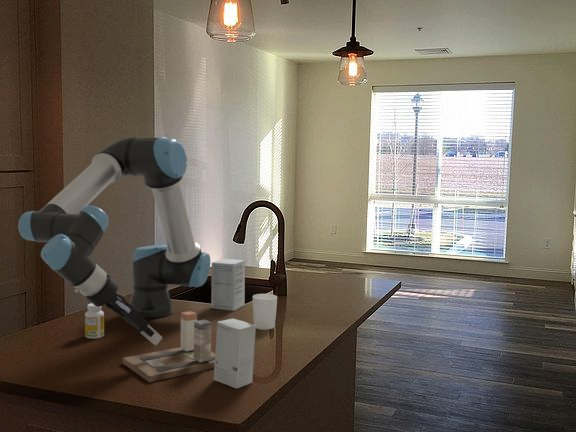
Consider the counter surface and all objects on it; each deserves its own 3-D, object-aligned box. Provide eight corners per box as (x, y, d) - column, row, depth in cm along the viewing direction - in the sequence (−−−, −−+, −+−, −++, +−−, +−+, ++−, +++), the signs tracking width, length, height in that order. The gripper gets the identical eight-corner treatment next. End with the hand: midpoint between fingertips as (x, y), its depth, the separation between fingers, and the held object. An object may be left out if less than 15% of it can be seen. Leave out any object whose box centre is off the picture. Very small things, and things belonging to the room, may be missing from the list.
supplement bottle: (98, 332, 190) (98, 301, 189) (107, 336, 186) (107, 304, 185) (81, 335, 186) (81, 304, 185) (90, 340, 182) (90, 307, 181)
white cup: (273, 331, 196) (274, 300, 195) (249, 329, 197) (249, 298, 196) (278, 324, 204) (279, 294, 203) (255, 322, 205) (256, 293, 204)
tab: (186, 351, 168) (186, 315, 167) (180, 348, 170) (180, 312, 169) (196, 349, 170) (197, 313, 169) (190, 346, 172) (191, 311, 171)
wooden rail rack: (149, 382, 150) (149, 333, 149) (122, 363, 163) (122, 318, 162) (226, 365, 164) (227, 320, 163) (196, 349, 176) (197, 307, 175)
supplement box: (245, 305, 228) (246, 260, 226) (234, 311, 219) (235, 264, 217) (221, 302, 231) (222, 257, 229) (210, 308, 222) (211, 261, 220)
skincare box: (213, 380, 153) (214, 321, 151) (230, 374, 157) (231, 317, 156) (237, 389, 147) (238, 328, 146) (255, 383, 152) (256, 323, 150)
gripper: (76, 292, 156) (138, 346, 168) (95, 303, 146) (160, 359, 158) (96, 269, 159) (156, 323, 171) (117, 278, 148) (179, 335, 160)
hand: (158, 340), depth 164 cm, fingers closed
